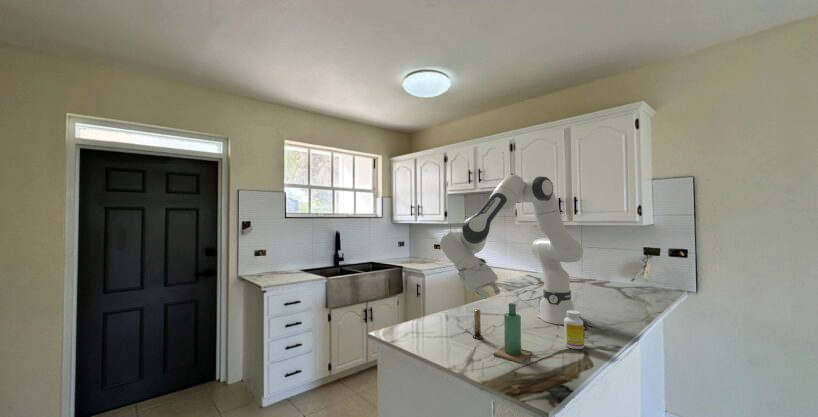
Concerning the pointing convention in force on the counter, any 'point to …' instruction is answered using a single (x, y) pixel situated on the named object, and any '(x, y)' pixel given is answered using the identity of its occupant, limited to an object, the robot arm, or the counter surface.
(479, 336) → the post
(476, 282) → the robot arm
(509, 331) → the bottle
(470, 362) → the counter surface
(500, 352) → the plate
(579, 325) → the supplement bottle
